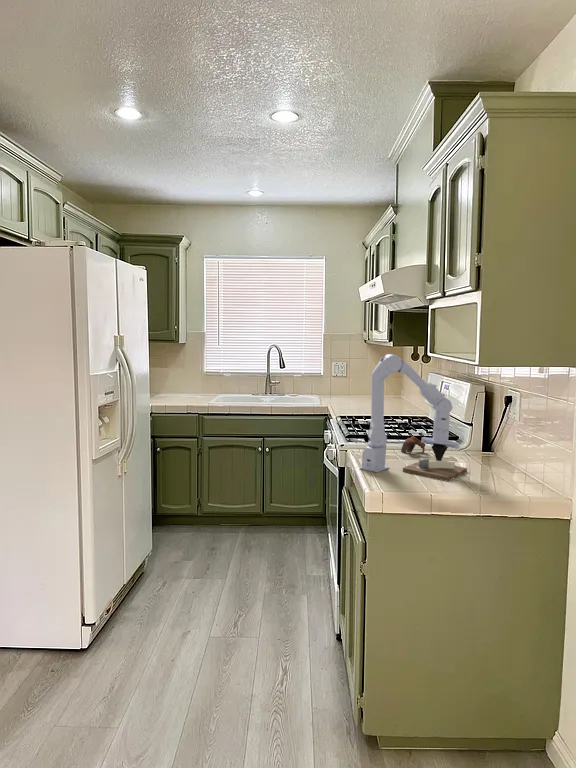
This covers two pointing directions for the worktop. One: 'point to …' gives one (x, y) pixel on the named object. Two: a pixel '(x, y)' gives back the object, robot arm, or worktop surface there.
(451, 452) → the worktop surface
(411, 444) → the pottery mug
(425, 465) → the peg lever
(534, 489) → the worktop surface
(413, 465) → the brown flat square board
